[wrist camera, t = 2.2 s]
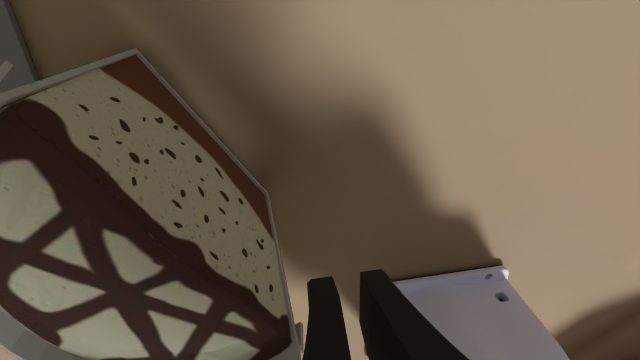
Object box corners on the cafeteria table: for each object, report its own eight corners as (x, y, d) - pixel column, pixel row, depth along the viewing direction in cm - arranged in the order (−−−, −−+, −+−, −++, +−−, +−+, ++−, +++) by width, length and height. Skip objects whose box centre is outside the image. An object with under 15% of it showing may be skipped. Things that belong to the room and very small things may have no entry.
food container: (1, 103, 17) (-245, 251, 8) (107, 16, 16) (-49, 83, 8) (199, 267, 23) (172, 451, 14) (285, 211, 22) (310, 372, 14)
